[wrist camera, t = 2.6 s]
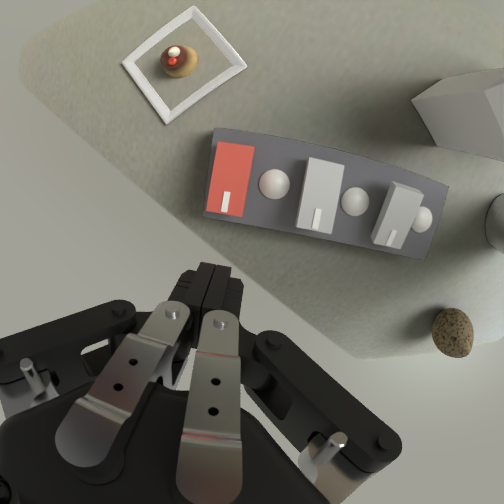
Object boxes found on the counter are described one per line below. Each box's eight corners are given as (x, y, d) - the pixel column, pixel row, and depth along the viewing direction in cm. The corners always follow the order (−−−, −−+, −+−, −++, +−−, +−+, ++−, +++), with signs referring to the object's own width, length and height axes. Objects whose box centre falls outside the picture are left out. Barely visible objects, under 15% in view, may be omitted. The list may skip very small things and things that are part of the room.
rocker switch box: (433, 180, 30) (449, 186, 26) (412, 248, 34) (425, 261, 31) (221, 128, 30) (213, 127, 27) (210, 207, 35) (202, 217, 31)
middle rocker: (340, 166, 27) (344, 165, 25) (328, 231, 28) (331, 234, 27) (307, 158, 27) (309, 157, 25) (295, 225, 28) (296, 227, 27)
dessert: (169, 125, 31) (154, 125, 27) (124, 63, 28) (105, 57, 23) (249, 68, 28) (244, 58, 23) (196, 7, 24) (185, -7, 20)
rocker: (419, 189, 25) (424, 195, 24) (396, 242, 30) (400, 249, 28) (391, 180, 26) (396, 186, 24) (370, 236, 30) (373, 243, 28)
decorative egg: (427, 304, 38) (453, 344, 29) (460, 294, 37) (489, 329, 28) (422, 336, 41) (443, 376, 31) (454, 326, 39) (477, 362, 30)
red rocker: (254, 148, 27) (254, 146, 26) (242, 215, 29) (241, 217, 27) (220, 143, 27) (217, 141, 26) (208, 209, 29) (205, 211, 27)
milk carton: (436, 147, 28) (543, 175, 11) (409, 100, 26) (515, 89, 9) (467, 123, 26) (570, 139, 9) (442, 78, 24) (544, 64, 7)
